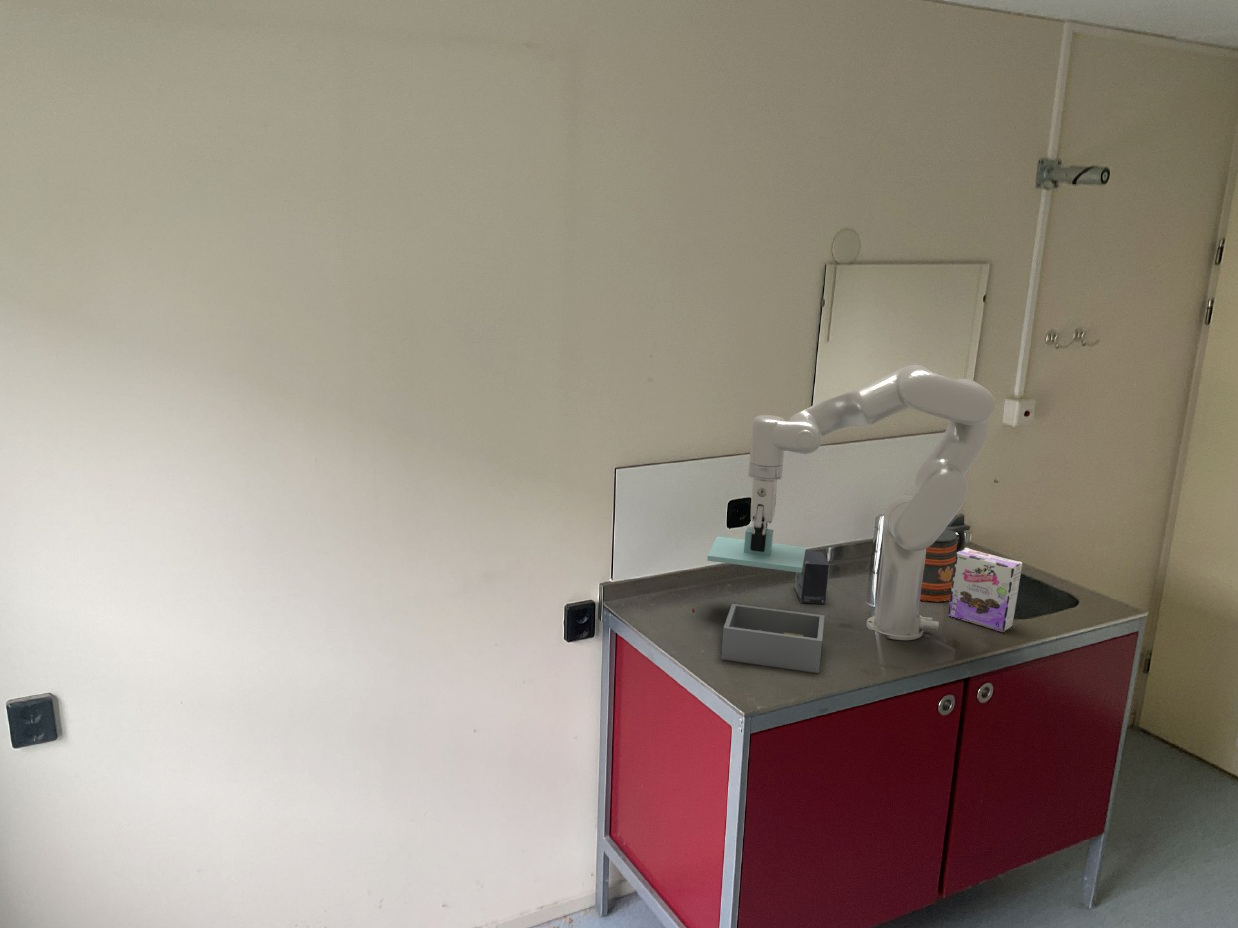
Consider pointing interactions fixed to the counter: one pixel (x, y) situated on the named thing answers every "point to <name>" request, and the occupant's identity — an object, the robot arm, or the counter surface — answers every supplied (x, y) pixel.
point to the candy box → (984, 588)
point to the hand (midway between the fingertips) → (758, 546)
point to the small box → (812, 578)
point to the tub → (773, 638)
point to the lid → (757, 553)
